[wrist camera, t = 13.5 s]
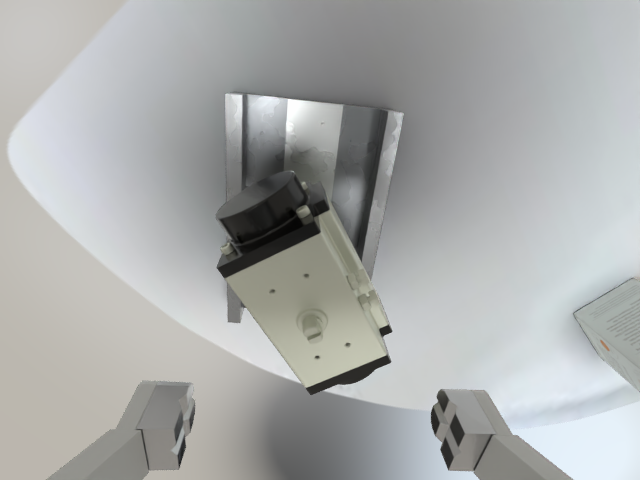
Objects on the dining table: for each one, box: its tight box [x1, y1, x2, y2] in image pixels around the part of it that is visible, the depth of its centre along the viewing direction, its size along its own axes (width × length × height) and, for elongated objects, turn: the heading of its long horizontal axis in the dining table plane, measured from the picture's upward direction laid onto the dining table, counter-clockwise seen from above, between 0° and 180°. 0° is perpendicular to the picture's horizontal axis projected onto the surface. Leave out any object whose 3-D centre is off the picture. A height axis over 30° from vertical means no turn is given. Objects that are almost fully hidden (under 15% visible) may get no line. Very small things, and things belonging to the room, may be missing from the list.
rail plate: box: [225, 92, 404, 323], centre depth 26 cm, size 17×11×3 cm, turn 174°
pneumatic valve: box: [216, 171, 392, 395], centre depth 20 cm, size 6×12×12 cm, turn 26°
